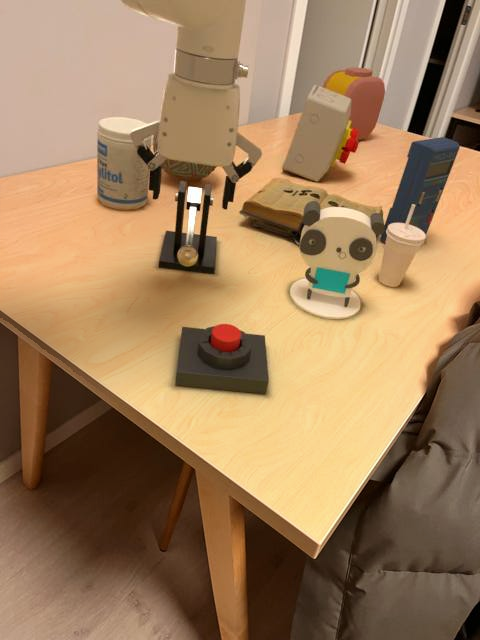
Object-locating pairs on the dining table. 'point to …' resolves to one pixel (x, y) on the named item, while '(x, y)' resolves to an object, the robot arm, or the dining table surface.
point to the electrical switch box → (321, 135)
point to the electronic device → (422, 182)
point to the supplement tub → (121, 165)
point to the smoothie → (399, 250)
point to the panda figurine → (334, 259)
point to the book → (293, 206)
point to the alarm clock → (359, 96)
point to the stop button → (225, 338)
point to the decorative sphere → (183, 167)
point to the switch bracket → (200, 242)
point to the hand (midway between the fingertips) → (190, 200)
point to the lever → (190, 228)
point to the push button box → (222, 363)
